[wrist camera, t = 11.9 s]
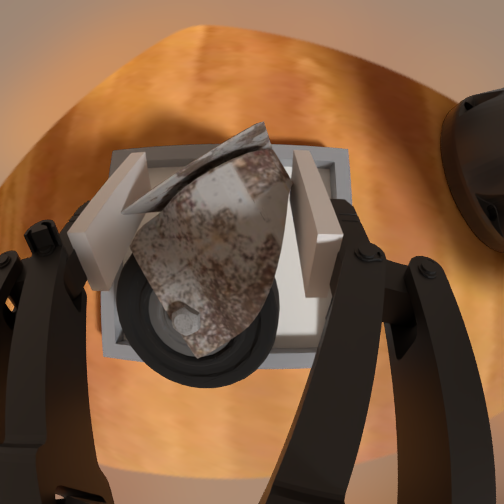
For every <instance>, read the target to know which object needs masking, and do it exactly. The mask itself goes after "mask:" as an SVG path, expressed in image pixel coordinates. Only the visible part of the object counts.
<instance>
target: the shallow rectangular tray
mask: <svg viewBox="0 0 504 504" xmlns="http://www.w3.org/2000/svg"><path fill="white" fill-rule="evenodd" d="M218 145H220V144H195V145H173V146H157V147H144V148H133V149H123V150H114V151H113V153H112V159H111V165H110V172H109V178H110V177H111V175H112V174H113V173H114V172H115V171H116V170H117V168H118V167H119V166H120V165H121V164H122V163H123V162H124V161H125V159H126V158H127V157H128V156H129V155H130V154H131V153H137V152H145V154H146V160H147V167H148V173H149V179H150V184H151V189H153V188H154V187H156V186H157V185H158V184H160V183H161V182H163V181H164V180H166V179H167V178H169V177H170V176H172V175H173V174H174V173H176V172H177V171H179V170H180V169H182V168H184V167H185V166H187V165H188V164H190V163H191V162H193V161H194V160H196V159H197V158H199V157H201V156H202V155H204V154H205V153H207V152H209V151H210V150H212V149H213V148H215V147H217V146H218ZM271 146H272V149H273V150H274V152H275V153H276V155H277V157H278V158H279V160H280V162H281V163H282V165H283V167H284V168H285V170H286V172H287V173H288V175H289V177H290V178H291V174H292V162H293V150H308V151H310V153H311V155H312V158H313V160H314V162H315V165H316V167H317V169H318V172H319V174H320V176H321V179H322V181H323V184H324V186H325V188H326V191H327V193H328V196H329V198H330V199H345V200H346V201H348V202H349V203H350V204H351V205H352V194H351V179H350V166H349V155H348V149H341V148H329V147H316V146H300V145H278V144H271ZM289 197H290V193H289ZM159 213H160V212H151V213H146V214H145V216H144V218H143V220H142V221H141V223H140V225H139V227H138V229H137V231H138V230H139V229H140V228H141V227H142V226H143V225H144V224H145V223H147V222H148V221H149V220H151V219H152V218H154V217H155V216H156V215H158V214H159ZM137 231H136V233H137ZM136 233H135V235H136ZM134 237H135V236H134ZM131 254H132V251H131V249H130V246H129V248H128V250H127V252H126V254H125V256H124V259H123V261H122V263H121V265H120V267H119V270H118V272H117V274H116V276H115V279H114V281H113V283H112V286H111V288H110V290H109V292H108V291H101V325H102V344H103V356H104V357H110V358H117V359H124V360H131V361H139V362H143V361H142V360H141V358H140V357H139V356H138V355H137V353H136V352H135V351H134V350H133V348H132V347H131V346H130V344H129V342H128V340H127V339H126V337H125V335H124V333H123V330H122V327H121V325H120V322H119V317H118V313H117V306H116V292H117V285H118V280H119V277H120V274H121V271H122V268H123V266H124V264H125V263H126V261H127V260H128V258H129V257H130V255H131ZM275 279H276V282H277V287H278V291H279V302H280V311H279V321H278V328H277V333H276V338H275V342H274V345H273V347H272V349H271V351H270V353H269V355H268V356H267V358H266V360H265V361H264V362H263V363H262V364H261V365H260V367H259V368H258V369H299V368H311V367H312V364H313V361H314V358H315V354H316V351H317V348H318V344H319V341H320V338H321V334H322V331H323V327H324V324H325V320H326V319H325V318H326V315H327V312H328V308H329V305H330V302H331V299H332V294H331V289H330V288H329V292H328V295H327V298H306V297H305V291H304V284H303V277H302V271H301V265H300V258H299V252H298V246H297V240H296V234H295V228H294V223H293V217H292V211H291V206H290V200H289V198H288V207H287V216H286V224H285V231H284V237H283V243H282V249H281V254H280V258H279V262H278V267H277V270H276V274H275Z"/></svg>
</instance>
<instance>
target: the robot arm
mask: <svg viewBox="0 0 504 504" xmlns="http://www.w3.org/2000/svg"><path fill="white" fill-rule="evenodd" d="M441 154H442V161H443V166H444V171H445V175H446V178H447V181H448V184H449V187H450V190H451V193H452V195H453V198H454V200H455V202H456V204H457V206H458V208H459V210H460V212H461V214H462V216H463V217H464V219H465V221H466V222H467V224H468V225H469V227H470V228H471V229H472V231H473V232H474V233H475V234H476V236H477V237H478V238H479V239H480V240H481V241H482V242H483V243H485V244H486V245H487V246H488V247H490V248H492V249H493V250H495V251H498V252H501V253H504V88H501V89H497V90H493V91H489V92H484V93H480V94H476V95H473V96H470V97H467V98H465V99H464V100H462V101H461V102H460V103H459V104H458V105H456V106H455V107H454V108H453V109H452V110H451V111H450V112H449V113H448V114H447V116H446V118H445V120H444V123H443V126H442V131H441ZM291 180H292V182H293V185H292V187H291V190H290V197H289V200H290V206H291V211H292V217H293V223H294V228H295V234H296V240H297V246H298V252H299V258H300V265H301V271H302V277H303V284H304V291H305V297H306V298H327V295H328V292H329V288H330V289H331V294H332V299H331V302H330V305H329V308H328V312H327V315H326V318H325V319H326V320H325V324H324V327H323V331H322V334H321V338H320V341H319V344H318V348H317V351H316V354H315V358H314V361H313V364H312V367H311V370H310V374H309V377H308V380H307V383H306V386H305V389H304V392H303V395H302V398H301V400H300V403H299V406H298V409H297V412H296V415H295V417H294V420H293V423H292V425H291V428H290V431H289V433H288V436H287V439H286V441H285V444H284V446H283V449H282V451H281V454H280V456H279V459H278V461H277V464H276V466H275V469H274V471H273V473H272V476H271V478H270V480H269V483H268V485H267V487H266V489H265V492H264V493H263V495H262V497H261V499H260V502H259V504H345V503H344V499H345V493H346V490H347V487H348V483H349V480H350V477H351V474H352V470H353V467H354V464H355V460H356V456H357V453H358V449H359V445H360V441H361V437H362V433H363V429H364V425H365V421H366V416H367V411H368V407H369V402H370V397H371V391H372V386H373V380H374V375H375V368H376V362H377V355H378V348H379V341H380V332H381V324H382V322H384V327H385V333H386V339H387V345H388V352H389V359H390V367H391V375H392V383H393V393H394V403H395V415H396V430H397V452H398V500H397V501H398V502H397V504H496V483H495V465H494V455H493V445H492V437H491V430H490V424H489V418H488V412H487V407H486V402H485V397H484V392H483V388H482V383H481V379H480V375H479V371H478V367H477V364H476V360H475V356H474V353H473V350H472V346H471V343H470V340H469V336H468V333H467V330H466V327H465V324H464V321H463V319H462V316H461V313H460V310H459V307H458V305H457V302H456V299H455V297H454V294H453V292H452V289H451V287H450V284H449V282H448V279H447V277H446V275H445V272H444V270H443V269H442V267H441V266H440V265H439V264H438V263H437V262H436V261H434V260H432V259H430V258H428V257H424V256H416V257H414V258H412V259H411V261H410V263H409V265H408V266H407V265H403V264H399V263H395V262H392V261H389V260H387V259H386V257H385V254H384V252H383V251H382V250H381V249H380V248H379V247H377V246H376V245H375V244H372V243H370V241H369V239H368V237H367V235H366V233H365V230H364V228H363V226H362V224H361V222H360V220H359V217H358V216H357V213H356V211H355V209H354V207H353V206H352V205H351V204H350V203H349V202H348V201H346V200H345V199H330V198H329V196H328V193H327V191H326V188H325V186H324V184H323V181H322V179H321V176H320V174H319V172H318V169H317V167H316V165H315V162H314V160H313V158H312V155H311V153H310V151H308V150H293V162H292V174H291ZM150 190H151V184H150V179H149V173H148V167H147V160H146V154H145V152H137V153H131V154H130V155H129V156H128V157H127V158H126V159H125V161H124V162H123V163H122V164H121V165H120V166H119V167H118V168H117V170H116V171H115V172H114V173H113V174H112V175H111V177H110V178H109V179H108V180H107V181H106V183H105V184H104V185H103V186H102V187H101V189H100V190H99V191H98V192H97V194H96V195H95V196H94V197H93V199H92V200H91V201H87V202H86V203H84V204H83V205H82V206H80V207H79V208H78V210H77V211H76V212H75V213H74V216H72V217H71V219H70V220H69V222H68V223H67V224H66V225H65V227H64V228H63V229H62V231H61V232H60V234H59V233H58V230H57V228H56V225H55V223H54V222H53V221H52V220H43V221H40V222H38V223H36V224H34V225H33V226H31V227H30V228H29V229H28V230H27V231H26V233H25V234H24V237H25V239H26V241H27V243H28V246H29V248H30V250H31V252H32V257H30V258H26V259H22V260H21V259H20V258H19V256H18V254H17V252H16V251H8V252H5V253H3V254H1V255H0V504H114V501H113V497H112V493H111V489H110V486H109V483H108V481H107V479H106V477H105V475H104V474H103V472H102V471H101V470H100V468H99V465H98V462H97V457H96V451H95V445H94V439H93V432H92V424H91V416H90V407H89V396H88V383H87V363H86V305H87V295H86V292H85V290H84V288H83V287H84V285H85V283H86V281H87V280H88V282H89V284H90V287H91V289H92V290H94V291H108V292H109V290H110V288H111V286H112V283H113V281H114V279H115V276H116V274H117V272H118V270H119V267H120V265H121V263H122V261H123V259H124V256H125V254H126V252H127V250H128V248H129V246H130V244H131V242H132V240H133V238H134V236H135V233H136V231H137V229H138V227H139V225H140V223H141V221H142V220H143V218H144V216H145V214H146V213H140V214H129V215H123V214H121V212H122V211H123V210H124V209H125V208H126V207H128V206H129V205H131V204H132V203H133V202H135V201H136V200H137V199H139V198H140V197H141V196H143V195H144V194H146V193H147V192H148V191H150ZM7 298H9V299H10V301H11V302H12V304H13V305H14V309H13V311H10V310H9V308H8V307H7V305H6V304H5V302H6V300H7ZM55 494H58V495H61V496H63V497H64V499H55Z"/></svg>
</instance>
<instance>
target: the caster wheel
mask: <svg viewBox="0 0 504 504" xmlns="http://www.w3.org/2000/svg"><path fill="white" fill-rule="evenodd" d="M292 185H293V182H292V180H291V178H290V177H289V175H288V173H287V172H286V170H285V168H284V167H283V165H282V163H281V162H280V160H279V158H278V157H277V155H276V153H275V152H274V150H273V149H272V146H271V143H270V140H269V137H268V133H267V130H266V127H265V124H264V122H260V123H257V124H255V125H253V126H251V127H249V128H247V129H246V130H244V131H242V132H240V133H239V134H237V135H235V136H234V137H232V138H230V139H228V140H227V141H225V142H223V143H222V144H220V145H218V146H217V147H215V148H213V149H212V150H210V151H209V152H207V153H205V154H204V155H202V156H201V157H199V158H197V159H196V160H194V161H193V162H191V163H190V164H188V165H187V166H185V167H184V168H182V169H180V170H179V171H177V172H176V173H174V174H173V175H172V176H170V177H169V178H167V179H166V180H164V181H163V182H161V183H160V184H158V185H157V186H156V187H154V188H153V189H151V190H150V191H148V192H147V193H146V194H144V195H143V196H141V197H140V198H139V199H137V200H136V201H135V202H133V203H132V204H131V205H129V206H128V207H126V208H125V209H124V210H123V211H122V212H121V214H123V215H129V214H140V213H151V212H160V213H159V214H158V215H156V216H155V217H154V218H152V219H151V220H149V221H148V222H147V223H145V224H144V225H143V226H142V227H141V228H140V229H139V230H138V231H137V233H136V235H135V237H134V238H133V240H132V242H131V244H130V249H131V251H132V254H131V255H130V257H129V258H128V260H127V261H126V263H125V264H124V266H123V268H122V271H121V274H120V277H119V280H118V285H117V292H116V306H117V313H118V317H119V322H120V325H121V327H122V330H123V333H124V335H125V337H126V339H127V340H128V342H129V344H130V346H131V347H132V348H133V350H134V351H135V352H136V353H137V355H138V356H139V357H140V358H141V360H142V361H143V362H145V363H146V364H147V365H148V366H149V367H150V368H151V369H153V370H154V371H156V372H157V373H159V374H160V375H162V376H163V377H165V378H167V379H169V380H171V381H174V382H177V383H179V384H182V385H186V386H190V387H196V388H218V387H223V386H227V385H231V384H233V383H236V382H238V381H240V380H242V379H245V378H246V377H248V376H249V375H250V374H252V373H253V372H254V371H256V370H257V369H258V368H259V367H260V365H261V364H262V363H263V362H264V361H265V360H266V358H267V356H268V355H269V353H270V351H271V349H272V347H273V345H274V342H275V338H276V333H277V328H278V321H279V311H280V302H279V291H278V287H277V282H276V279H275V274H276V270H277V267H278V262H279V258H280V254H281V249H282V243H283V237H284V231H285V224H286V216H287V207H288V198H289V193H290V190H291V187H292Z"/></svg>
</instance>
